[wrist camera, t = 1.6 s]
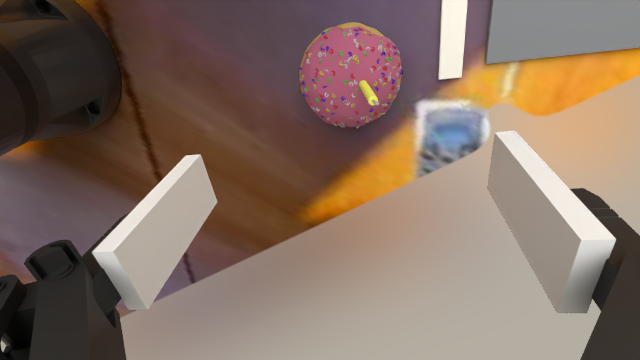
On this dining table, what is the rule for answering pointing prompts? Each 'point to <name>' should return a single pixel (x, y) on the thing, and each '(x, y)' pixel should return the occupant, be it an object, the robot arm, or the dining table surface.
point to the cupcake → (350, 74)
